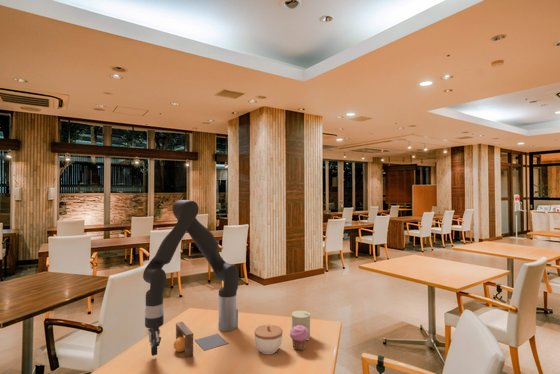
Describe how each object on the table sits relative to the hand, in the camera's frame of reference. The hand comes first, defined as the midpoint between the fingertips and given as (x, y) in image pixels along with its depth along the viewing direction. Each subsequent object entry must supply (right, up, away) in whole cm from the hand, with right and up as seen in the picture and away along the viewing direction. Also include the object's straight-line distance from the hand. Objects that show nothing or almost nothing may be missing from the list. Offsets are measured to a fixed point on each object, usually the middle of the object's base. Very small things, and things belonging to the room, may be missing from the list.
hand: (154, 354), depth 139 cm
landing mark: (+21, -2, +15) cm, 26 cm away
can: (+64, -2, +20) cm, 67 cm away
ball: (+10, +1, +6) cm, 11 cm away
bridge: (+11, -2, +7) cm, 13 cm away
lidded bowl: (+49, -2, +7) cm, 49 cm away
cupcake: (+63, -2, +9) cm, 64 cm away
